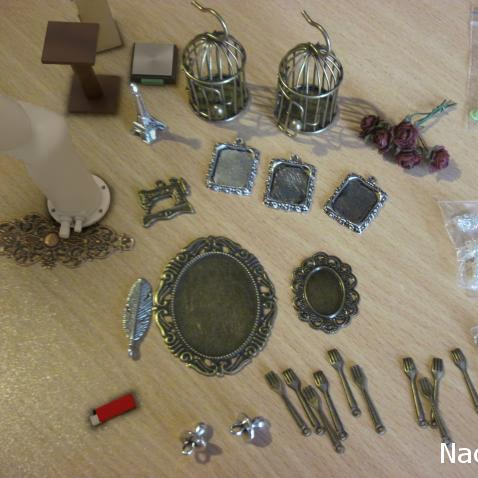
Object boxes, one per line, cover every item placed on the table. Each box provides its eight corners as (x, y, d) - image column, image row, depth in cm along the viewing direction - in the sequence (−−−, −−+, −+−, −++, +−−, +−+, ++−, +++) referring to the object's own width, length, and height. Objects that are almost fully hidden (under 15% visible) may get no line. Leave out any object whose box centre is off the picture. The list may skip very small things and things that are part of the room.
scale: (174, 86, 131) (173, 79, 128) (131, 85, 130) (129, 78, 127) (177, 49, 135) (176, 42, 132) (135, 48, 134) (133, 40, 131)
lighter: (135, 406, 103) (92, 426, 101) (136, 407, 104) (94, 426, 102) (130, 392, 104) (87, 411, 102) (131, 393, 105) (89, 412, 103)
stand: (114, 114, 126) (93, 62, 110) (69, 112, 125) (40, 60, 109) (119, 78, 130) (98, 23, 113) (74, 76, 129) (47, 20, 112)
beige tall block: (82, 29, 134) (52, -44, 114) (112, 21, 136) (88, -52, 116) (92, 54, 132) (63, -16, 112) (122, 45, 133) (99, -24, 114)
